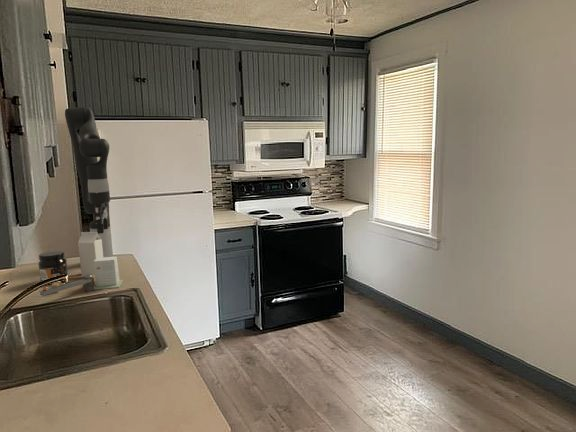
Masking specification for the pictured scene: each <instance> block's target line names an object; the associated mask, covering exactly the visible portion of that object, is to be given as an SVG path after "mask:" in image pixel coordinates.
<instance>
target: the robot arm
mask: <svg viewBox="0 0 576 432" xmlns="http://www.w3.org/2000/svg"><path fill="white" fill-rule="evenodd" d="M64 117H65V122H66V125H67V128H68V129H67V130H68V133H69V137H70V141H71V145H72V148H73V154H74V160H75V165H76V170H77V174H78V178H79V179H78V180H79V183H80V186H81V187H80V189H81V196H82V202H83V203H82V205H83V209H84V211H85V213H86V214H88V215H93V220H92V221H90V222H89V232H97V234H98V235H99V237H100V238H101V239H102V248H103V258H104V257H114V254H113V253H114V251H113V250H114V249H113V240H112V230H111V219H110V218H111V216H110V202H111V196H110V194H111V193H110V184H109V180H108V170H107V164H108V163H107V162H108V157H109V153H110V143H109V142H108V140H107V139H105V138H101V135H99V133H98V130H97V123H96V119H95V116H94V113H93V110H92V109H91V108H90V107H88V106H79V107H78V106H76V107H68V108H66V109H65V111H64ZM78 130H79V131H78ZM98 158H99V160H98Z"/></svg>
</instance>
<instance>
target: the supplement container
mask: <svg viewBox="0 0 576 432" xmlns="http://www.w3.org/2000/svg"><path fill="white" fill-rule="evenodd" d="M65 253H66V252H65V251H62V250H53V251H46V252H42V253H39V254H38V260H39V261H38V263H37V264H38V271H39V277H40V280H39V281H40V282H41V281H43V280H45V279H49V278H52V277H55V276H59V275H63V274H67V275H68V276H69V272H68V262H67V258H65V256H66V255H65Z"/></svg>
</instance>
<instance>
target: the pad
mask: <svg viewBox="0 0 576 432" xmlns="http://www.w3.org/2000/svg"><path fill="white" fill-rule="evenodd" d="M122 283H123V279H122V278H121V279H119V282H118V283H117V285H108V286H96V284H95V285H94V286H93V289H94V290H95V291H96V290H107V289H116V288H117V289H119V288H120V286H121V285H122ZM94 290H93V291H94Z"/></svg>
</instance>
